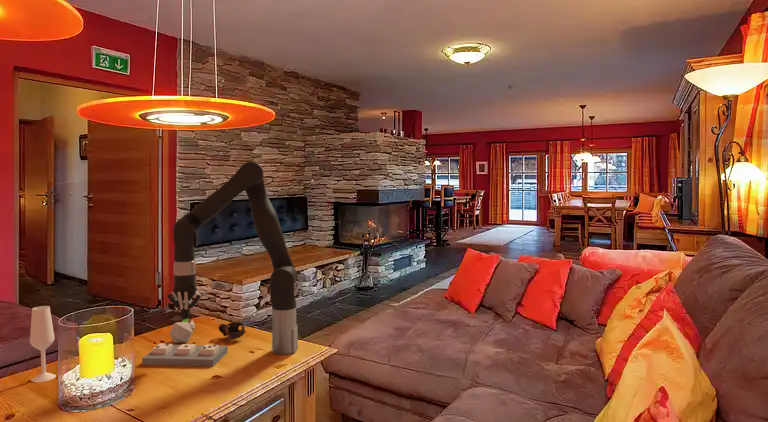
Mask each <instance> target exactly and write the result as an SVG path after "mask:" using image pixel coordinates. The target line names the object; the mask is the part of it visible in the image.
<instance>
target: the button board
mask: <svg viewBox="0 0 768 422" xmlns="http://www.w3.org/2000/svg"><path fill="white" fill-rule="evenodd" d="M172 345H173V350H172V351H171V352H169V353H168V354H153V350H152V351H150V352H149V353H147V354H145V355H144V356H143V357H141V366H142V365H143V366H173V367H174V366H176V367H179V366H181V367H214V366H215V365H216V364H217V363H218V362H220V360H221V359H223V357H225V356H226V355H227V354H228V346H229V345H219V352H218V353H217V354H216V355H201V350H200V349H201V348H203V347H204V346H205V345H206V344H205V345H203V344H202V345H199V344H198V345H197V344H196V351H195V352H194V353H192V354H191V355H177V348H178V347H180V346H181V345H182V344H172Z"/></svg>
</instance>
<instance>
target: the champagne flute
mask: <svg viewBox="0 0 768 422" xmlns="http://www.w3.org/2000/svg"><path fill="white" fill-rule="evenodd" d="M30 319H31V320H30V335H29V344H30V345H31V346H32V347H33V348H34V349H36V350H39V351H40V365H41V366H40V367H41V373H38V375H36V376H35V377H33V378H32V379H31V382H33V383H43V382H48V381H50V380H53V379H55V378H56V377H57V375H56V374H54V373H50V372H47V368H46V367H47V366H46V350H47V349H48V348H49V347H50V346H51V345H52V344H53V343H54V341H55V331H54V325H53V319H52V313H51V306H50V305H43V306H42V305H40V306H35V307H32V308H31V318H30Z"/></svg>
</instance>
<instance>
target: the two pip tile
mask: <svg viewBox="0 0 768 422" xmlns="http://www.w3.org/2000/svg"><path fill="white" fill-rule="evenodd" d="M173 345H174V344H173V343H158V344H157V345H156V346H154V347H153V348H152V351H153V354H168V353H169V352H171V351H172V350H173Z"/></svg>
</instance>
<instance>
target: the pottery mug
mask: <svg viewBox="0 0 768 422" xmlns="http://www.w3.org/2000/svg"><path fill="white" fill-rule="evenodd" d="M240 327H241V329H240ZM245 329H246V327H245V325H244V324H243V322H241V321H239V320H237V321H236V320H233V321H230V322H228V323H227V324H226V323H221V324H219V325H218V330H219V332H220V333H221V334H222V335H223V337H226V336H227V337H226V342H228V343H231V341H235V340H238V339H240V338H241V337H243V335H244V334H246V333H247V332H246V330H245Z"/></svg>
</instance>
